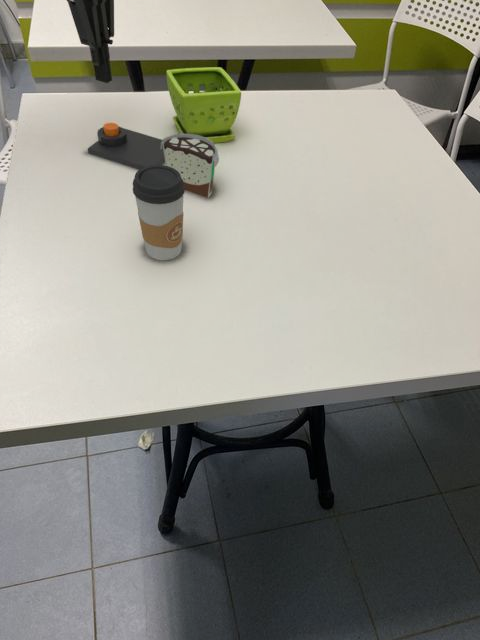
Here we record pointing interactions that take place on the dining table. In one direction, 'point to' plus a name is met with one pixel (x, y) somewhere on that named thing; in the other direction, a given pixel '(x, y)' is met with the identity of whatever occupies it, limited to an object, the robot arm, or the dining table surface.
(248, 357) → the dining table surface
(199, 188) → the food container
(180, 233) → the coffee cup
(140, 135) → the dark grey flat block
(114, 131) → the button
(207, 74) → the flower pot
